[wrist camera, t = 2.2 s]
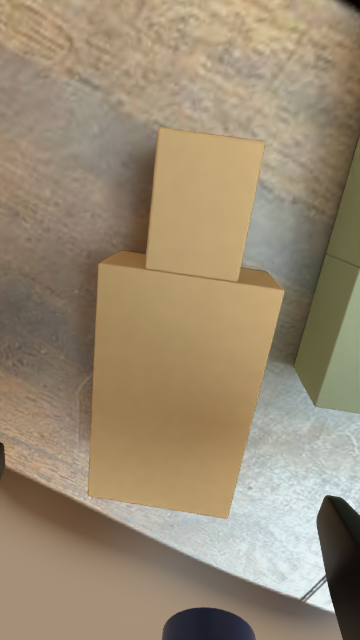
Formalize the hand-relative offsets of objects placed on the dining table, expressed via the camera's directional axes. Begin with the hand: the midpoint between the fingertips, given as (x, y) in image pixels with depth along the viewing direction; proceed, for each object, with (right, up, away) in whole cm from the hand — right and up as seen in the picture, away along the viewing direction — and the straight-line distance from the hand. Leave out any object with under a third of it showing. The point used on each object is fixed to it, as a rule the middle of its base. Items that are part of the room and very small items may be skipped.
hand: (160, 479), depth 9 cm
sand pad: (+1, +4, +5) cm, 7 cm away
